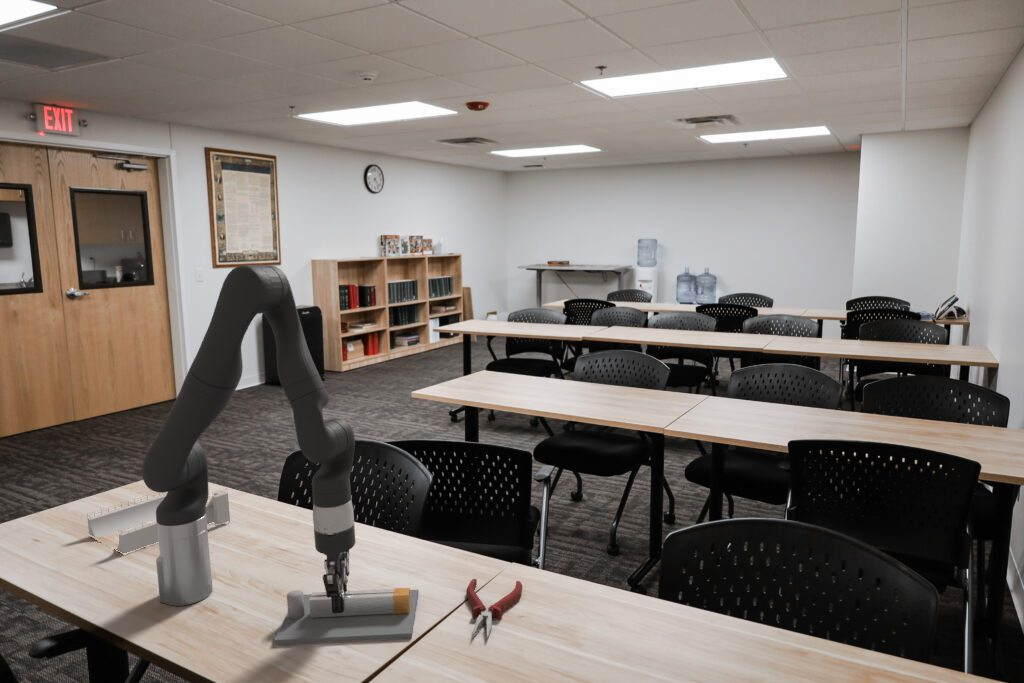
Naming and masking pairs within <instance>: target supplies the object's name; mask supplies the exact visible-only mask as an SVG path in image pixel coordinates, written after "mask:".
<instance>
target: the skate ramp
mask: <svg viewBox="0 0 1024 683" xmlns="http://www.w3.org/2000/svg"><path fill="white" fill-rule="evenodd" d="M157 493H159V494H158V495H159V496H156V495H155V494H153V495H151V496H150V499H149V494H148V495H145V496H144V495H143V498H144V497H145V498H146V500H145V499H144V500H143V498H140V499H139V498H136V500H137V499H139V500H137V502H136V500H133V504H130V502H127V504H124V503H126V502H123V504H124V505H125V506H124V507H123V504H120V507H121V508H117V506H116V504H115V505H112V506H108V507H107V512H104V510H103V508H102V509H99V510H97V511H100V512H98V513H100V514H97V515H96V513H95V512H96V511H93V516H91V514H90V512H89V513H87V514H86V517H87V527H88V535H89V534H90V535H92V536H94V537H95V538H97V537H101V536H104V535H107V534H110V533H113V532H117V531H118V533H119V531H120V530H121V532H120V534H119V544H118V547H117V549H116V550H118V551H120V552H122V553H127V552H130V551H133V550H136V549H139V548H141V547H144V546H147V545H150V544H154V543H156V542H159V540H158V530H157V521H155V522H152V523H149V524H146V525H143V523H146V522H149V521H153V520H155V519H156V509H157V507H158V505H159V504H160V503H161V502H162V501H163V499H164V498H165V496H166V495H167V493H166V492H163V494H162V495H161V493H160V492H156V494H157ZM151 497H153V498H151ZM138 501H140V502H138ZM229 501H230V500H229V493H228V490H227V488H224V489H223V490H219V491H214V492H213V491H212V496H211V498H210V500H209V502H207V503H206V520H207V524H209V523H212V522H215V523H214V525H215V526H217V525H218V527H219V528H220V526H219V525H222V524H224V523H228V522H229V523H230V524H231V515H230V514H231V513H230V502H229ZM129 504H130V505H129ZM126 505H127V506H126ZM110 507H113V508H111V510H110ZM116 508H117V509H116ZM112 509H113V510H112ZM102 510H103V511H102ZM102 512H104V513H102ZM89 514H90V515H89ZM140 524H142V526H140V527H137V528H136V527H135V529H132V530H129V531H126V532H123V533H122V530H123V529H124V530H125V529H126V528H127V529H129V528H131V527H132V526H133V527H134V526H137V525H140ZM212 524H213V523H212ZM209 525H210V524H209ZM215 526H214V527H215Z"/></svg>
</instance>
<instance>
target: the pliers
mask: <svg viewBox="0 0 1024 683" xmlns="http://www.w3.org/2000/svg"><path fill="white" fill-rule="evenodd" d="M477 581H478V580H477V578H472V579H471V580H470V582H469V584H468V585H467V587H466V597H467V599H468V601H469V603H470V605H471V606H472V611H471V616H472V617H471V618H472V619H473V620H475V619H476V620H475V623H474V626H473V631H472V634H471V639H473V638H474V637H476V636H477V634H478V633H479V632H480V631H481V629H482V628H481V627H483V624H486V640H488V638H489V636H490V633H491V631H492V628H493V627H492V625H493V620H498V621H501V620H502V619H503V613H504V612H505V611H507V610H509V607H510V608H511V607H513V605H515V604H516V603H517V602H519V600H520V599H521V597H522V593H523V583H522V582H521V581H519V580H516V581H515V587H514V589H513V590H512V591H510V593H508V594H507V595H505V596H504V597H502V598H501V599H499V600H498V601H497V602H495V603H493V604H492V605H489V607H488V609H487V608H486V606H485V604H484V603H483V602H482V600H481V599H480V597H479V595H478V594H477V593H476V592H475V591H476V589H477V586H476V585H477V584H478V582H477ZM475 588H476V589H475ZM474 590H475V591H474ZM502 612H503V613H502ZM479 630H480V631H479Z"/></svg>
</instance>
